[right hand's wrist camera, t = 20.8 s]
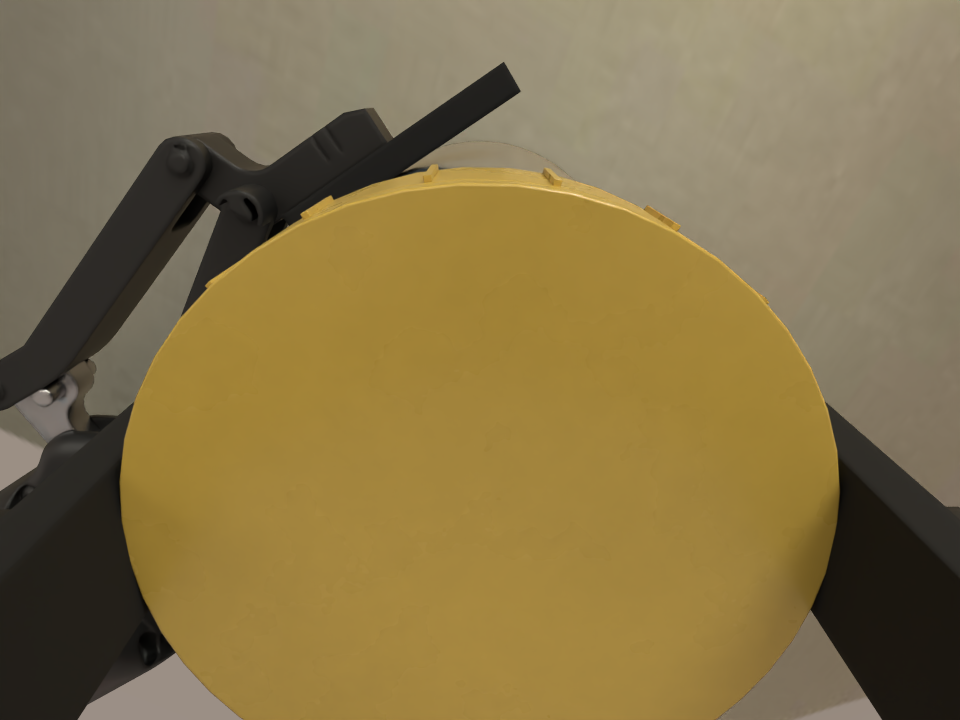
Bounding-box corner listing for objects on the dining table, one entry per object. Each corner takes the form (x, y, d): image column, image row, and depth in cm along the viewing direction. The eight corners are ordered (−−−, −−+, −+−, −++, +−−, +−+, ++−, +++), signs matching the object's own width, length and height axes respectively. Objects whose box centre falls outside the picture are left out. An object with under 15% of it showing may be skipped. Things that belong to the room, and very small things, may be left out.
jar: (651, 191, 24) (912, 330, 10) (557, 425, 28) (644, 791, 13) (387, 102, 23) (229, 105, 9) (323, 356, 27) (130, 671, 12)
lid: (133, 615, 13) (70, 708, 11) (254, 56, 10) (195, 45, 8) (628, 748, 15) (653, 852, 13) (899, 300, 11) (995, 345, 9)
